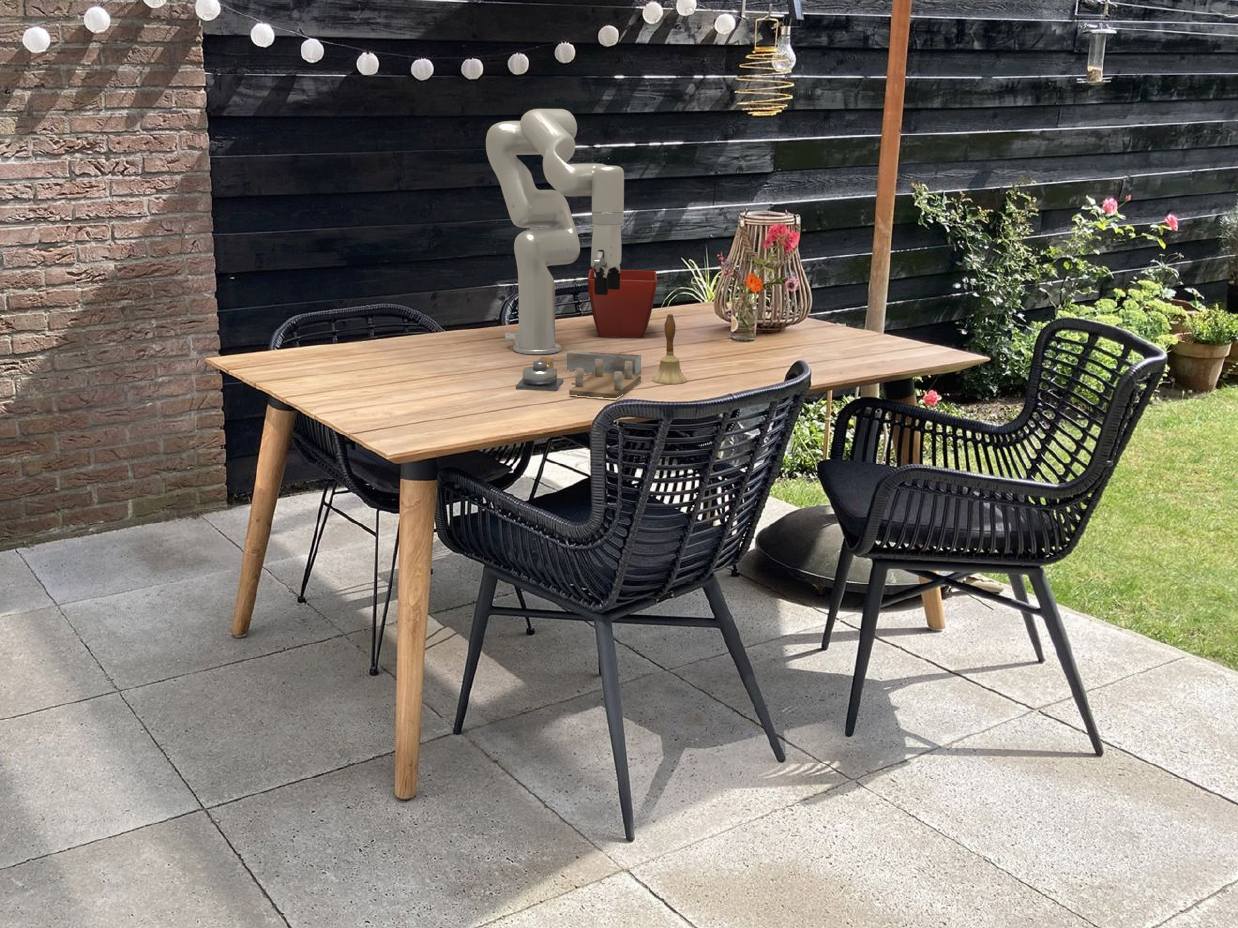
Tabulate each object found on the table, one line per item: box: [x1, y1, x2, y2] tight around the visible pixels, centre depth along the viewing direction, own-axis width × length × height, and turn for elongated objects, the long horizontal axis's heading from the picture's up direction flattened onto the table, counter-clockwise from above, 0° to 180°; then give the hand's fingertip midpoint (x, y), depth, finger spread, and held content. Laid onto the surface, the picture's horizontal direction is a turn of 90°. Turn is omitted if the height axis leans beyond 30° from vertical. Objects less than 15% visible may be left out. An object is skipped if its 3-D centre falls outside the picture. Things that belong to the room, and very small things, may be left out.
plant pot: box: [586, 268, 658, 339], centre depth 352 cm, size 19×19×17 cm
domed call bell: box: [522, 356, 558, 384], centre depth 293 cm, size 14×8×4 cm, turn 173°
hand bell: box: [651, 313, 688, 385], centre depth 296 cm, size 8×8×16 cm
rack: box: [568, 359, 642, 401], centre depth 287 cm, size 11×20×6 cm, turn 163°
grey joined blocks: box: [566, 350, 642, 376], centre depth 305 cm, size 18×5×4 cm, turn 73°
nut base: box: [515, 377, 564, 392], centre depth 290 cm, size 10×14×1 cm, turn 83°
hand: (607, 291), depth 299 cm, fingers open, 9 cm apart
